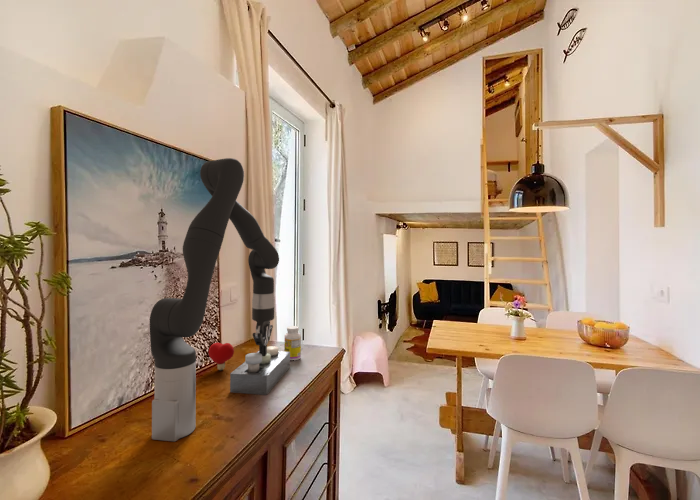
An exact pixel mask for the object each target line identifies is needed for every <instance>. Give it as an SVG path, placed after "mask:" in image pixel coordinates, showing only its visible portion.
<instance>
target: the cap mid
mask: <svg viewBox="0 0 700 500" xmlns="http://www.w3.org/2000/svg"><path fill="white" fill-rule="evenodd" d="M270 361H271V355H270V354H268V353H267V355H265V356H262V362H261V363H259V364H268V363H269V362H270Z"/></svg>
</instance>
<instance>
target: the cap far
mask: <svg viewBox="0 0 700 500" xmlns="http://www.w3.org/2000/svg"><path fill="white" fill-rule="evenodd" d="M278 351H279V347H278V346H274V345H273V346H272V345H271V346H267V353H268V354H270V355H271V356H272V357H275V356H276V355H277V354H278Z"/></svg>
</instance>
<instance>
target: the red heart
mask: <svg viewBox="0 0 700 500" xmlns="http://www.w3.org/2000/svg"><path fill="white" fill-rule="evenodd" d="M208 348H209V349H208V356H209V358H210V359H211V360H212V361H213V362H214V363H216V364H217V367H216V368H217V370H219V371H223V370H224V369H225V368H226V362H227V361H229V360H231V358H233V357H234V353H235V349H234V346H233V345H232V344H231V343H229V342H225V343H221V342H214V343H212V344H211V345H210V346H209V347H208Z"/></svg>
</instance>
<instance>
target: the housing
mask: <svg viewBox="0 0 700 500" xmlns="http://www.w3.org/2000/svg"><path fill="white" fill-rule="evenodd" d="M256 353H259V350H258V351H257V352H256ZM289 367H290V368H291V361H290V352H285V351H282V350H278V354H277V355H276V356H275V357H272V356H271V361H270V362H269V363H268V364H259V371H258V372H255V373H250V372H248V364H247V363H245V361H244V362H243V363H242V364H240V365H239V366H238V367H236V369H234V370H233V371H231V372H230V377H229V387H230V388H229V393H236V394H247V395H248V394H249V395H260V396H261V395H262V396H267V395H268V394H269V393H270V392H271V390H272V389H273V388H274V387H275V386H276V384H278V382H280V380H281V379H282V378H283V376H284V375H285V374H286V373H287V371H288V370H290V368H289ZM285 372H286V373H285Z"/></svg>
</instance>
